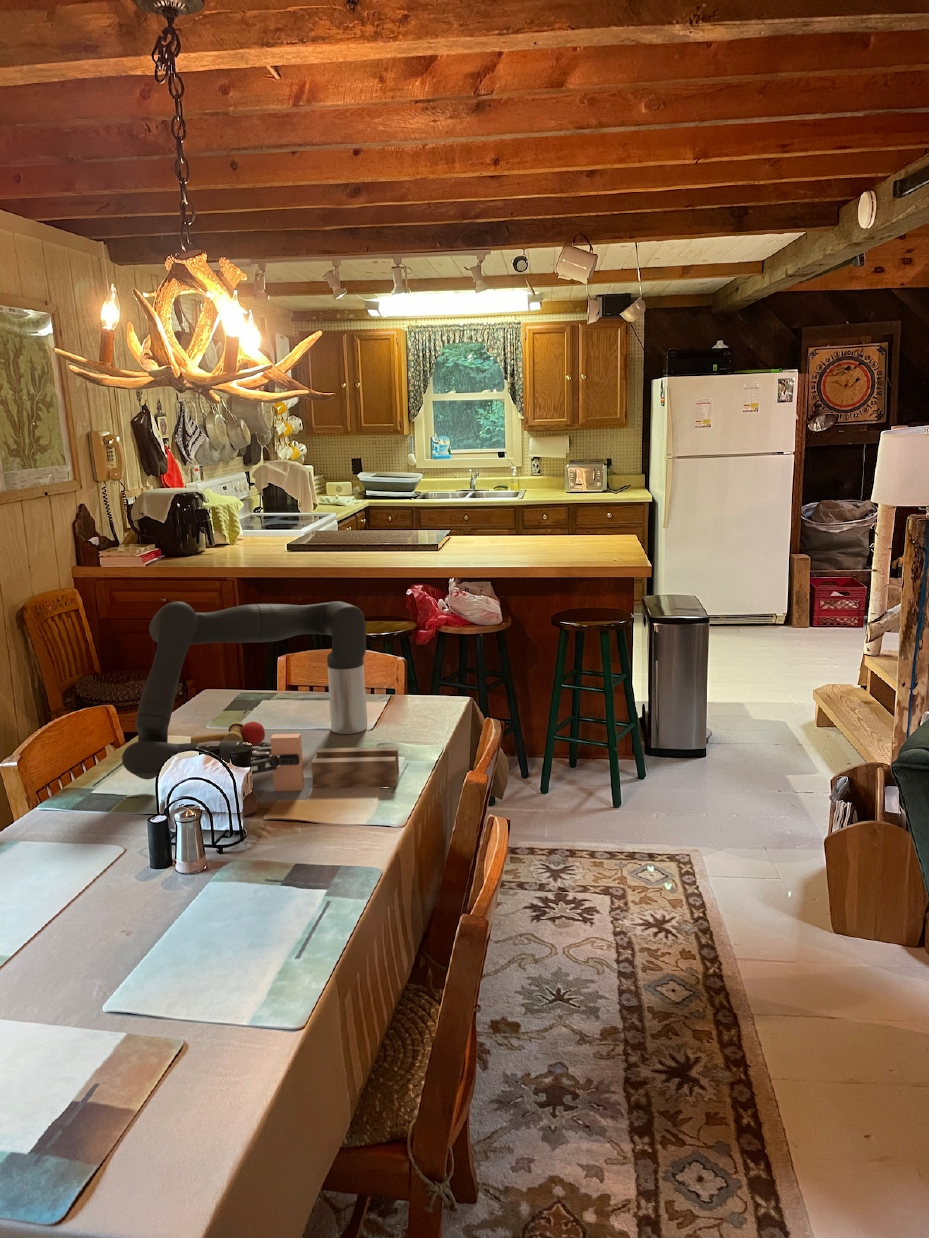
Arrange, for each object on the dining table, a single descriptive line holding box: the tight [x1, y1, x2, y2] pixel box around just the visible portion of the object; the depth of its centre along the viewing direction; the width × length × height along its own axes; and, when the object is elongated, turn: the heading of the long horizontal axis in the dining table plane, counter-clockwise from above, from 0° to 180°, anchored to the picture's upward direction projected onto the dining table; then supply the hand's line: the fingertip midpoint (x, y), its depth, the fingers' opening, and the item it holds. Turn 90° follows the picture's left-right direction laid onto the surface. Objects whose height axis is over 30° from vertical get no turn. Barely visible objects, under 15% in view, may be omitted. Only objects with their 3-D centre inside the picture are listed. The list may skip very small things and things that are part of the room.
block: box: [270, 733, 305, 791], centre depth 195 cm, size 6×2×12 cm, turn 90°
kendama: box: [190, 721, 266, 747], centre depth 225 cm, size 8×6×18 cm
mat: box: [259, 777, 313, 802], centre depth 197 cm, size 10×12×1 cm
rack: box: [311, 746, 400, 789], centre depth 200 cm, size 18×9×6 cm, turn 90°
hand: (299, 756), depth 195 cm, fingers closed on block, 2 cm apart
